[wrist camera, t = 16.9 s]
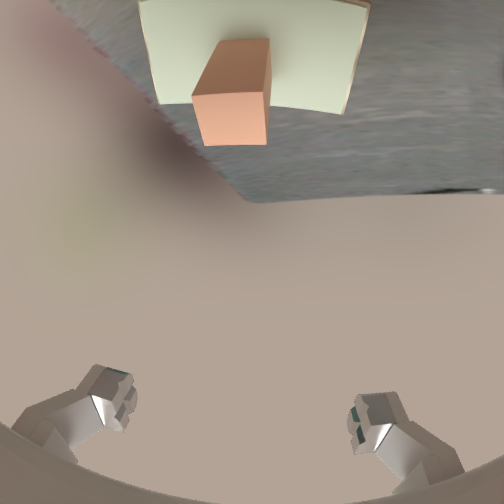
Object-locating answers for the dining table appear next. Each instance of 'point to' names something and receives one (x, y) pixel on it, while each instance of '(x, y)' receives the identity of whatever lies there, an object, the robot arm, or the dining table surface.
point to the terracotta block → (235, 93)
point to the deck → (257, 27)
